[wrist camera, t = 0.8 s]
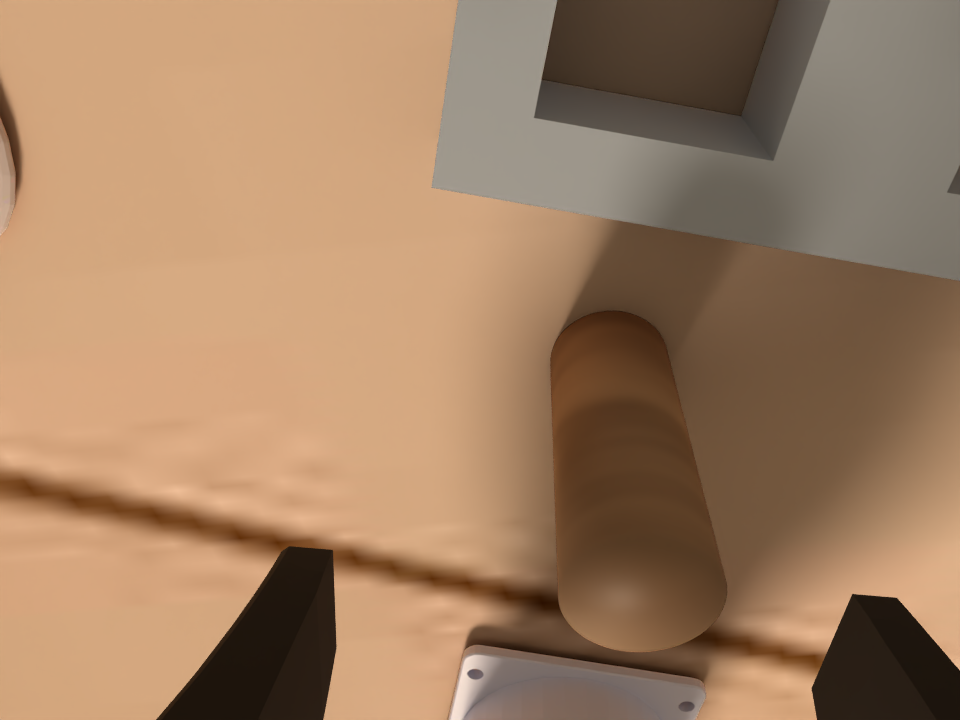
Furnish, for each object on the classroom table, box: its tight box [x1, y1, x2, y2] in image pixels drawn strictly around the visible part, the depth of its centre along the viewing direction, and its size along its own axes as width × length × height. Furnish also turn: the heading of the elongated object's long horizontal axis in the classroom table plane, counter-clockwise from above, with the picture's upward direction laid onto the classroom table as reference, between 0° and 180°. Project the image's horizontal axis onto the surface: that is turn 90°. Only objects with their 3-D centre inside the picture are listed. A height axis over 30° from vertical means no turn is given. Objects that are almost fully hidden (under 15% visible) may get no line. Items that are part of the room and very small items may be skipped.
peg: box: [550, 311, 727, 652], centre depth 19 cm, size 3×3×8 cm
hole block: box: [432, 0, 960, 281], centre depth 17 cm, size 8×16×3 cm, turn 81°
